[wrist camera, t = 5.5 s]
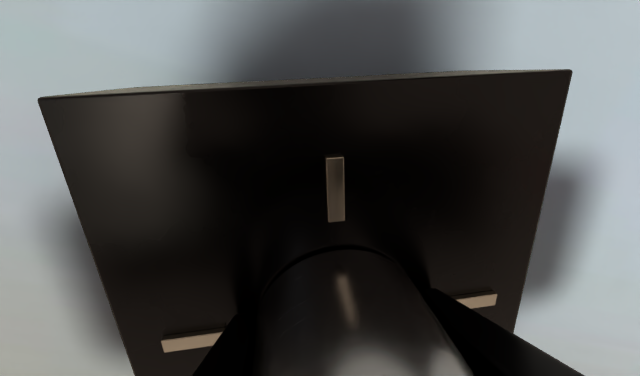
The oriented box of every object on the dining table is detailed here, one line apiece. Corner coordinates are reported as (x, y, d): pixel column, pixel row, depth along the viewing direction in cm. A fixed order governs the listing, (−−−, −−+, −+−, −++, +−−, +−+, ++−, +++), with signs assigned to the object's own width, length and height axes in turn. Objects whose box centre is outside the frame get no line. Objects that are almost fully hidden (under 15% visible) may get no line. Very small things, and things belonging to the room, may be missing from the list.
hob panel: (434, 333, 14) (495, 433, 10) (203, 368, 13) (172, 496, 9) (462, 70, 10) (582, 69, 6) (134, 87, 9) (27, 98, 5)
